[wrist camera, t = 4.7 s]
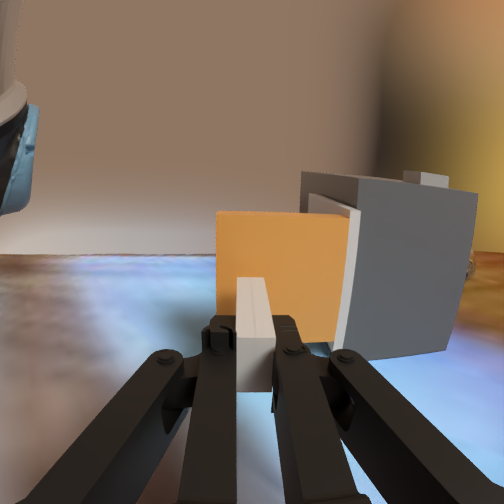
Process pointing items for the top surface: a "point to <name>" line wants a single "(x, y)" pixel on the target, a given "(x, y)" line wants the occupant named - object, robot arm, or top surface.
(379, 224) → the box
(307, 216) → the door
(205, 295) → the top surface
